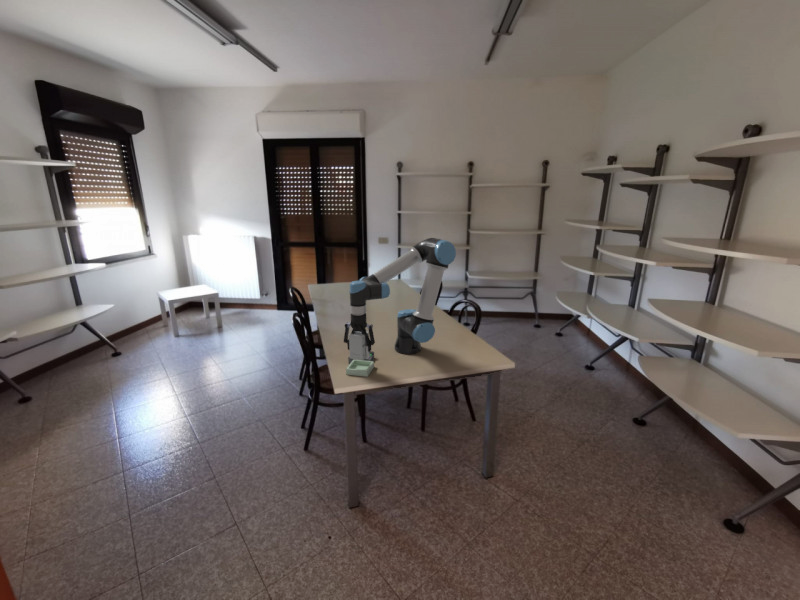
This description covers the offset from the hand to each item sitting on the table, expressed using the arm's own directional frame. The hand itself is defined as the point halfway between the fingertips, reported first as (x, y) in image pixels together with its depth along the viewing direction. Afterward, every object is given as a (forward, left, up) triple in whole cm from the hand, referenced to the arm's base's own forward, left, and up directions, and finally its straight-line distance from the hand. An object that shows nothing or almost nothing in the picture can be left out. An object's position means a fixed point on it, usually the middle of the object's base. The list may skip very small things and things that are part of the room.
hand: (359, 356), depth 182 cm
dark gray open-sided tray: (+3, -11, -8) cm, 14 cm away
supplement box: (0, 0, 0) cm, 0 cm away
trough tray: (0, 0, -8) cm, 8 cm away
